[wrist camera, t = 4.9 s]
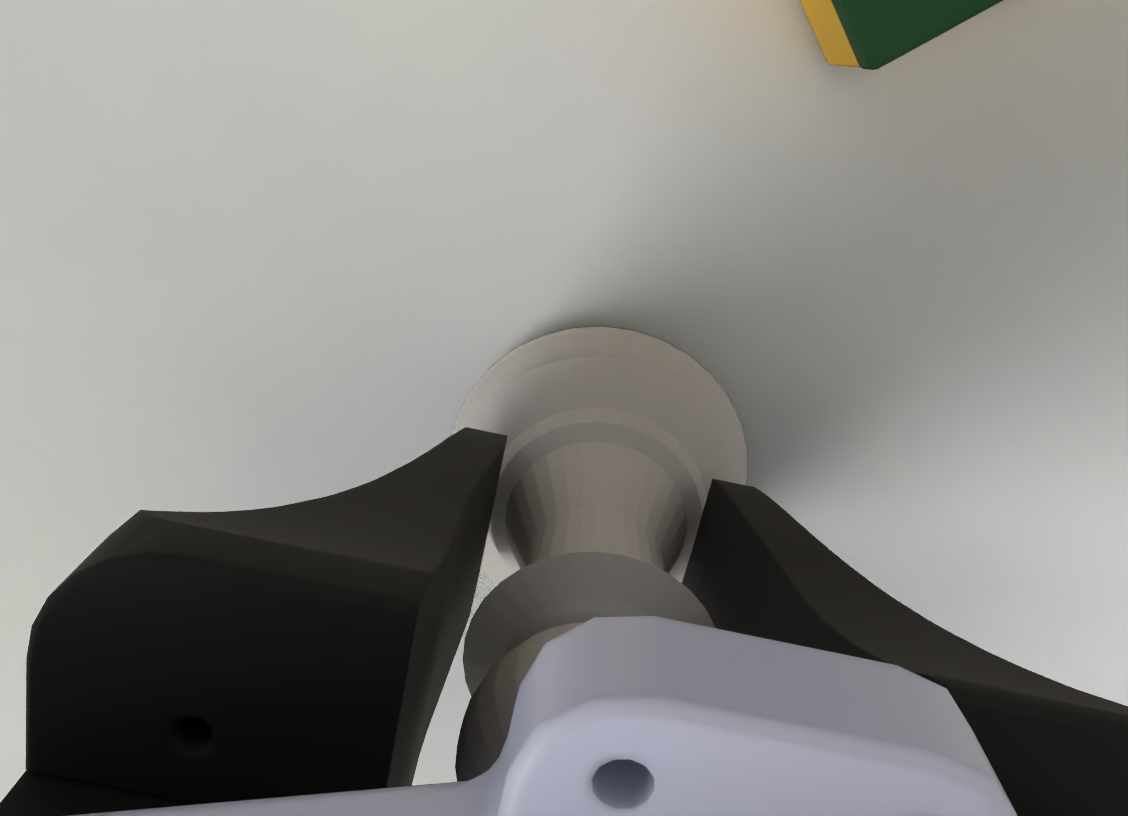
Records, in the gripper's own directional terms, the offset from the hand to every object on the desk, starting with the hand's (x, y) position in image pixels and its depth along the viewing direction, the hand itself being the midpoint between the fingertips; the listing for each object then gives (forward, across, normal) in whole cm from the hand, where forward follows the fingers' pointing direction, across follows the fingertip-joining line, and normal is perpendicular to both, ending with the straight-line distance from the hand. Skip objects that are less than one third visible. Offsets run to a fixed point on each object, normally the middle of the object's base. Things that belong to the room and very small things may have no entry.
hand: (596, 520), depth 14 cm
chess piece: (+2, 0, 0) cm, 2 cm away
